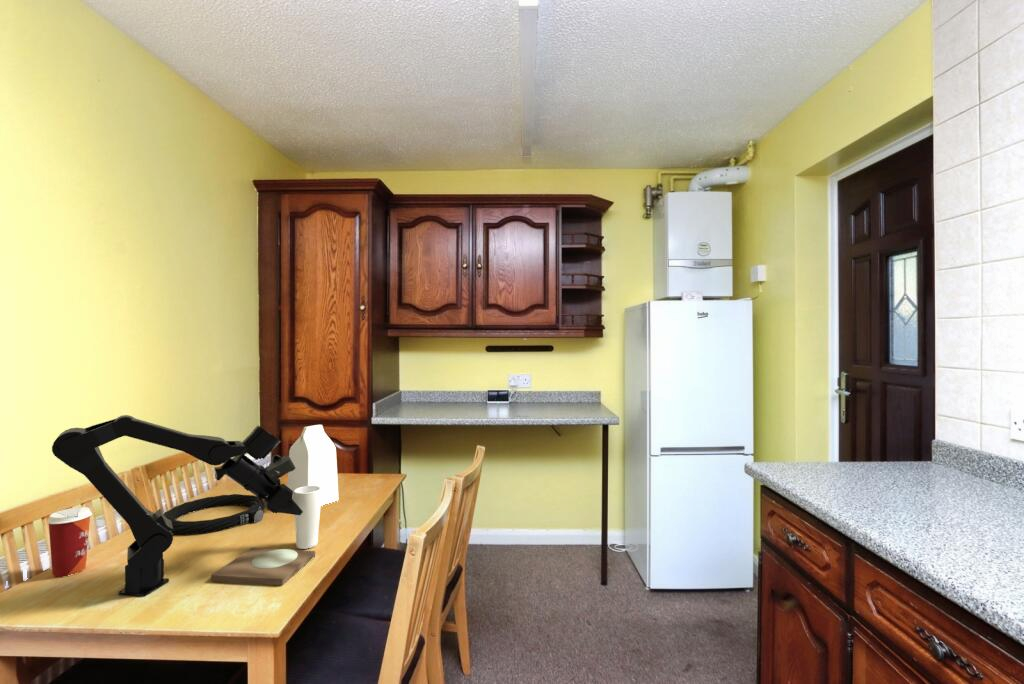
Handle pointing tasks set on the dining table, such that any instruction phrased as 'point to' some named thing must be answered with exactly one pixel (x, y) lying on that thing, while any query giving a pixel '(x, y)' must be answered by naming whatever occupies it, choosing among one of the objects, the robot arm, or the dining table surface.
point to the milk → (314, 463)
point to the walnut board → (263, 566)
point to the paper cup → (69, 540)
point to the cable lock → (220, 523)
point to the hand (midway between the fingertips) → (296, 508)
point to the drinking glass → (307, 516)
